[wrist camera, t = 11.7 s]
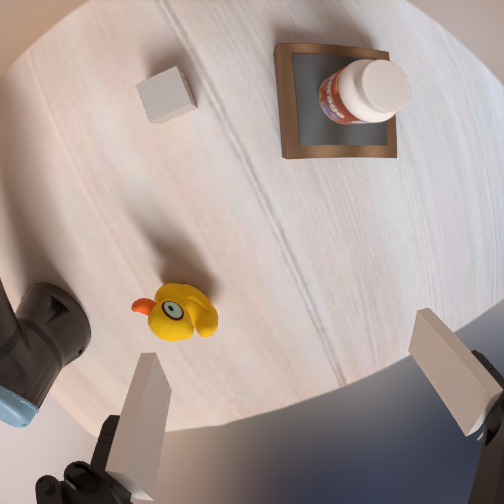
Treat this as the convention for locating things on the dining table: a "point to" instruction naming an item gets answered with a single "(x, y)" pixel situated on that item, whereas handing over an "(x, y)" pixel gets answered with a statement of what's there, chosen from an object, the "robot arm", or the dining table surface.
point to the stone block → (166, 96)
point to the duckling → (178, 312)
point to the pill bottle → (365, 92)
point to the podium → (310, 112)
